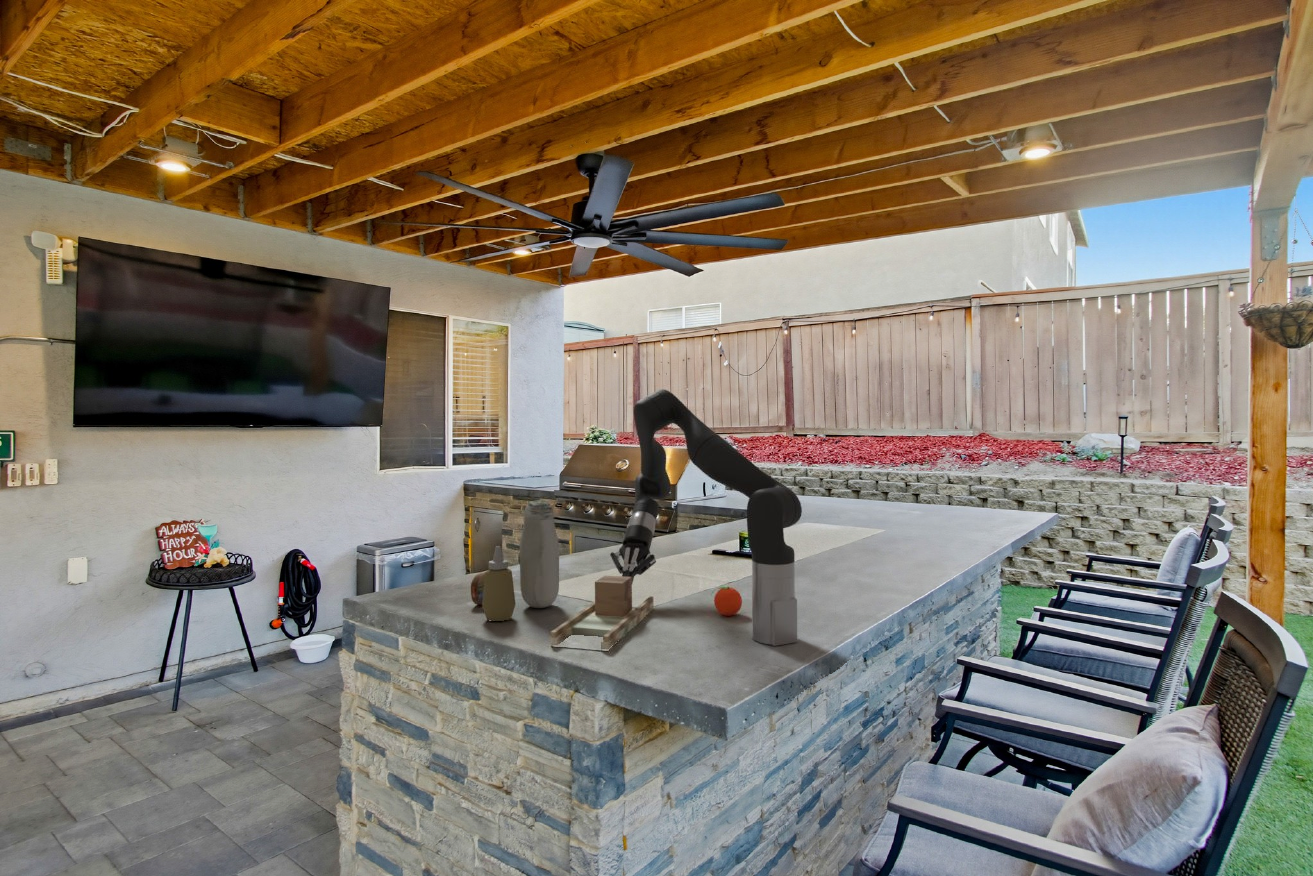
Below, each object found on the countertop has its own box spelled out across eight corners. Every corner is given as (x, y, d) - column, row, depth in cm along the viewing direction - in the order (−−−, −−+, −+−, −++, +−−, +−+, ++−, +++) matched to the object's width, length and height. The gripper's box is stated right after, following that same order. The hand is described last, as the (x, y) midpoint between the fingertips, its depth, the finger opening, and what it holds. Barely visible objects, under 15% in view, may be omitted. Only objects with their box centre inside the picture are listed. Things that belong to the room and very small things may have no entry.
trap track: (606, 605, 177) (606, 593, 177) (653, 609, 174) (653, 596, 174) (550, 646, 145) (550, 631, 145) (607, 651, 141) (607, 636, 141)
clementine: (706, 616, 166) (705, 588, 166) (715, 609, 173) (715, 582, 173) (737, 620, 163) (736, 591, 163) (745, 613, 169) (745, 584, 169)
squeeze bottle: (502, 613, 172) (501, 542, 171) (522, 618, 166) (521, 545, 166) (475, 620, 165) (474, 547, 165) (495, 626, 160) (494, 550, 160)
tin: (479, 609, 176) (478, 576, 176) (468, 608, 177) (468, 576, 177) (508, 595, 190) (508, 565, 190) (499, 594, 191) (498, 564, 191)
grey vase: (563, 609, 174) (562, 501, 174) (524, 613, 171) (522, 503, 170) (554, 600, 184) (553, 497, 183) (517, 604, 180) (515, 499, 179)
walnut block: (605, 607, 168) (605, 575, 168) (632, 609, 166) (631, 576, 166) (595, 615, 162) (594, 581, 162) (622, 617, 160) (622, 583, 160)
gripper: (665, 541, 186) (652, 596, 174) (620, 539, 190) (605, 592, 178) (660, 524, 181) (646, 579, 169) (614, 522, 185) (597, 576, 173)
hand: (625, 586), depth 174 cm, fingers closed
